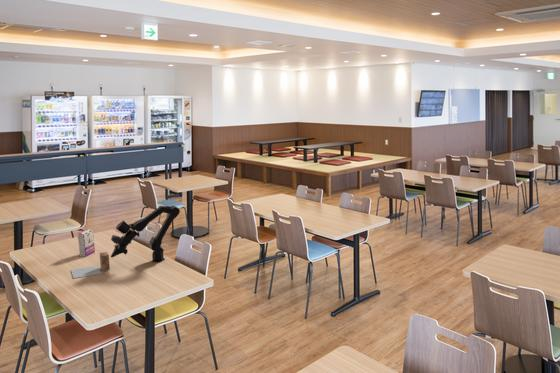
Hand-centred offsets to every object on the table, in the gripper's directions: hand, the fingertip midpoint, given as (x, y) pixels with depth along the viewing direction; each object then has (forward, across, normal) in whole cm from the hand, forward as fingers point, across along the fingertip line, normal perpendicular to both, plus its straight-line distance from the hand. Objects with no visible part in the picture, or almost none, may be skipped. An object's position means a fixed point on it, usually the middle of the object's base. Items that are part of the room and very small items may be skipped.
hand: (111, 257), depth 308 cm
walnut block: (+8, 0, +2) cm, 8 cm away
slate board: (+16, 0, -6) cm, 17 cm away
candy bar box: (+13, -38, -2) cm, 40 cm away
